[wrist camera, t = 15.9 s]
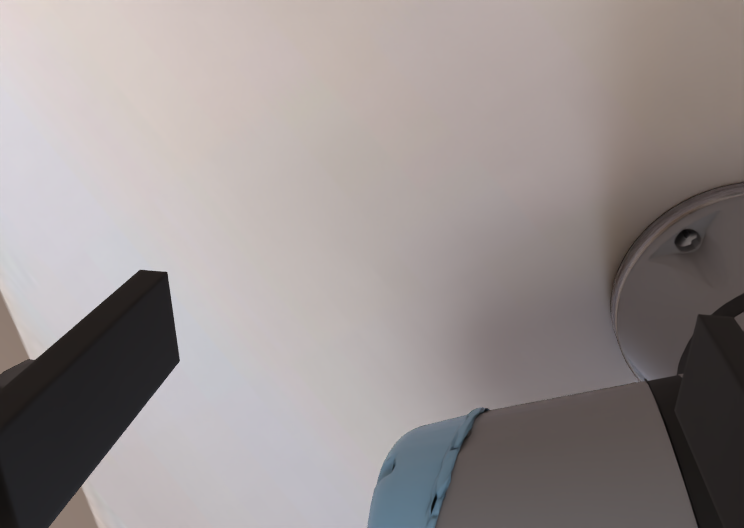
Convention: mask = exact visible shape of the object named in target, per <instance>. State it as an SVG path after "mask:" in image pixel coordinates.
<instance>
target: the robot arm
mask: <svg viewBox="0 0 744 528" xmlns="http://www.w3.org/2000/svg"><path fill="white" fill-rule="evenodd" d="M611 318H612V324H613V328H614V332H615V335H616V338H617V341H618V344H619V346H620V349H621V352H622V355H623V357H624V359H625V361H626V363H627V364H628V366H629V367H630V369H631V370H632V372H633V373H634V374H635V376H636V377H637V378H638V379H639V380H640V381H641V382H636V383H631V384H626V385H621V386H615V387H610V388H605V389H600V390H594V391H589V392H584V393H578V394H573V395H568V396H563V397H557V398H552V399H547V400H542V401H536V402H531V403H526V404H521V405H515V406H510V407H505V408H500V409H494V410H490V409H488V408H483V407H482V408H476V409H474V410H472V411H471V412H470V413H469V414H468V415H465V416H461V417H457V418H453V419H449V420H444V421H440V422H436V423H432V424H428V425H424V426H421V427H418V428H415V429H413V430H411V431H410V432H408V433H406V434H405V435H404V436H402V437H401V438H400V439H399V440H398V441H397V442H396V444H395V445H394V446H393V448H392V449H391V450H390V452H389V453H388V455H387V457H386V459H385V461H384V463H383V465H382V468H381V471H380V474H379V477H378V481H377V485H376V487H375V489H374V493H373V497H372V502H371V507H370V513H369V520H368V527H367V528H744V183H739V184H733V185H728V186H724V187H720V188H716V189H713V190H710V191H707V192H704V193H702V194H699V195H697V196H695V197H693V198H690V199H688V200H686V201H685V202H683V203H681V204H679V205H677V206H676V207H674V208H672V209H671V210H669V211H668V212H666V213H665V214H664V215H662V216H661V217H660V218H658V219H657V220H656V221H655V222H654V223H652V224H651V225H650V226H649V227H648V228H647V229H646V230H645V231H644V232H643V233H642V234H641V235H640V236H639V238H638V239H637V240H636V241H635V243H634V244H633V245H632V247H631V248H630V249H629V251H628V253H627V254H626V256H625V257H624V259H623V261H622V263H621V265H620V267H619V269H618V272H617V275H616V278H615V281H614V285H613V289H612V296H611ZM179 361H180V359H179V352H178V345H177V338H176V331H175V324H174V317H173V310H172V302H171V295H170V288H169V281H168V274H167V272H160V271H147V270H139V271H138V272H137V273H136V274H135V275H133V276H132V277H131V278H130V279H129V280H128V281H126V282H125V283H124V284H123V285H122V286H121V287H120V288H118V289H117V290H116V291H115V292H114V293H113V294H111V295H110V296H109V297H108V298H107V299H106V300H104V301H103V302H102V303H101V304H100V305H99V306H97V307H96V308H95V309H94V310H93V311H92V312H91V313H89V314H88V315H87V316H86V317H85V318H84V319H82V320H81V321H80V322H79V323H78V324H77V325H75V326H74V327H73V328H72V329H71V330H70V331H68V332H67V333H66V334H65V335H64V336H63V337H61V338H60V339H59V340H58V341H57V342H56V343H55V344H53V345H52V346H51V347H50V348H49V349H48V350H46V351H45V352H44V353H43V354H42V355H41V356H39V357H38V358H37V359H36V360H30V359H28V360H26V361H24V362H22V363H20V364H18V365H16V366H14V367H12V368H10V369H8V370H6V371H4V372H3V373H2V374H0V528H48V527H49V526H50V525H51V524H52V522H53V521H54V520H55V519H56V517H57V516H58V515H59V514H60V512H61V511H62V510H63V508H64V507H65V506H66V505H67V503H68V502H69V501H70V499H71V498H72V497H73V496H74V495H75V493H76V492H77V491H78V489H79V488H80V487H81V486H82V484H83V483H84V482H85V481H86V479H87V478H88V477H89V475H90V474H91V473H92V472H93V470H94V469H95V468H96V467H97V465H98V464H99V463H100V462H101V460H102V459H103V458H104V456H105V455H106V454H107V453H108V451H109V450H110V449H111V448H112V446H113V445H114V444H115V443H116V441H117V440H118V439H119V437H120V436H121V435H122V434H123V432H124V431H125V430H126V429H127V427H128V426H129V425H130V423H131V422H132V421H133V420H134V418H135V417H136V416H137V415H138V413H139V412H140V411H141V410H142V408H143V407H144V406H145V404H146V403H147V402H148V401H149V399H150V398H151V397H152V396H153V394H154V393H155V392H156V391H157V389H158V388H159V387H160V385H161V384H162V383H163V382H164V380H165V379H166V378H167V377H168V375H169V374H170V373H171V371H172V370H173V369H174V368H175V366H176V365H177V364H178V363H179Z"/></svg>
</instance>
